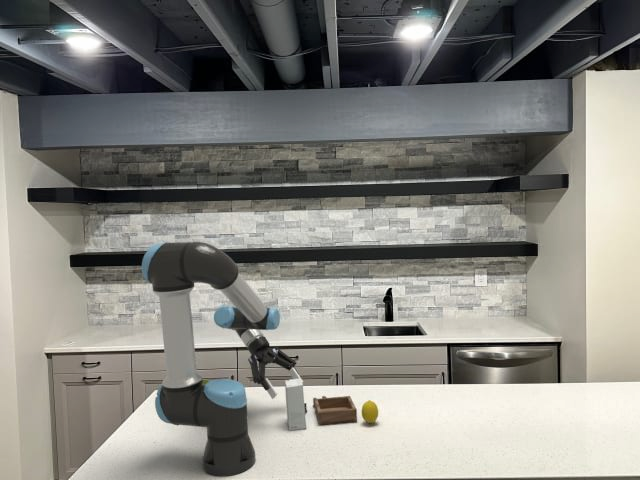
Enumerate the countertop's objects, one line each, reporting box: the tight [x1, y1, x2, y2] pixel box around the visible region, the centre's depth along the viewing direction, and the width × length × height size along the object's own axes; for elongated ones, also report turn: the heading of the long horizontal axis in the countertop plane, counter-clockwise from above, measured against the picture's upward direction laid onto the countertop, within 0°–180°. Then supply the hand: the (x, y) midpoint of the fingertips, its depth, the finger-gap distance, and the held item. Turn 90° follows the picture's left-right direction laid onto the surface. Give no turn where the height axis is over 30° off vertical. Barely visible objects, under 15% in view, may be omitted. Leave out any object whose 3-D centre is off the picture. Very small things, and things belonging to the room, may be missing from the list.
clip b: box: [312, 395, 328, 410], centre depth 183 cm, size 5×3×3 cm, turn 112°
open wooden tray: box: [314, 395, 358, 427], centre depth 173 cm, size 13×13×4 cm
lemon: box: [361, 399, 379, 425], centre depth 166 cm, size 6×6×8 cm
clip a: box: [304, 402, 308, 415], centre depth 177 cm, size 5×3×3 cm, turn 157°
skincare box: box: [284, 377, 307, 431], centre depth 168 cm, size 8×6×15 cm
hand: (288, 390), depth 171 cm, fingers open, 13 cm apart
